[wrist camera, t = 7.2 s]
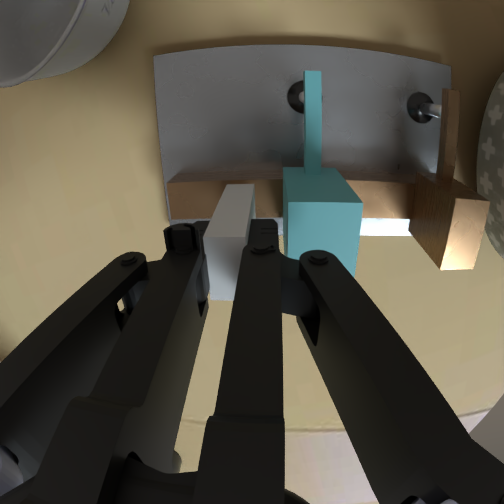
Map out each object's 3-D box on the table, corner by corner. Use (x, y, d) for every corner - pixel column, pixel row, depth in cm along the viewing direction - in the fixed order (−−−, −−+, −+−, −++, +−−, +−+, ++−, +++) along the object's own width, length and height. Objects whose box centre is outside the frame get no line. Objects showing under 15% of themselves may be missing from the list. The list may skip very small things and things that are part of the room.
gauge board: (175, 229, 24) (136, 295, 16) (159, 57, 18) (97, 43, 10) (428, 229, 23) (481, 289, 15) (442, 66, 17) (518, 66, 9)
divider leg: (281, 218, 21) (286, 288, 14) (279, 75, 17) (286, 60, 10) (326, 218, 21) (352, 287, 14) (329, 76, 17) (368, 66, 9)
